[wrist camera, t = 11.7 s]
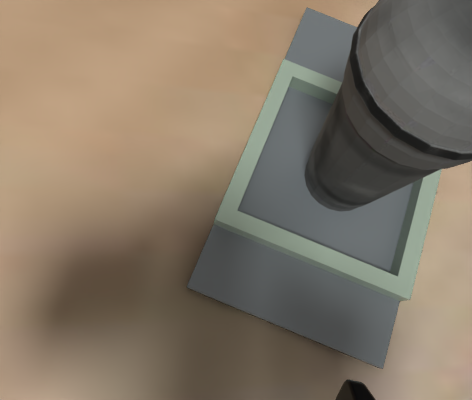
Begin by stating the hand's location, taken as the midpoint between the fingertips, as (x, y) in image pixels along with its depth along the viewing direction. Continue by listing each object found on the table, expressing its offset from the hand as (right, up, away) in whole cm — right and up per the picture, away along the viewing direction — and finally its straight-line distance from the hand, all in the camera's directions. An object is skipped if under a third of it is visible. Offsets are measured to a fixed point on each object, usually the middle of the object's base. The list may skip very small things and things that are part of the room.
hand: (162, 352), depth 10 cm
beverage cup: (+8, +5, +16) cm, 19 cm away
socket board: (+8, +6, +17) cm, 20 cm away
